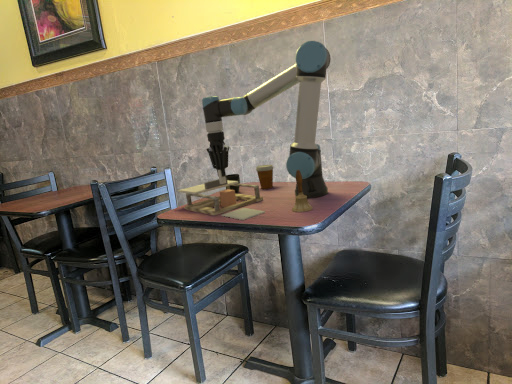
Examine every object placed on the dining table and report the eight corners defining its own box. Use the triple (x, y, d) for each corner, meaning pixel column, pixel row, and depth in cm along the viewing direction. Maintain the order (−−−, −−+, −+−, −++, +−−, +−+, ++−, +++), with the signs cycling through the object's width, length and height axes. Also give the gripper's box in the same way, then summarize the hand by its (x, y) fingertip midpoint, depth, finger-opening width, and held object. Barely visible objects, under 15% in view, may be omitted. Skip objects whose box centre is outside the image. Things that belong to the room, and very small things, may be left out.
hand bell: (311, 211, 143) (307, 171, 140) (290, 212, 145) (285, 172, 142) (314, 206, 151) (310, 167, 148) (293, 207, 153) (289, 169, 150)
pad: (265, 212, 150) (265, 211, 150) (242, 220, 143) (242, 219, 143) (243, 208, 161) (243, 207, 161) (221, 216, 153) (221, 214, 153)
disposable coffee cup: (254, 189, 200) (252, 167, 198) (264, 185, 208) (262, 164, 206) (269, 189, 195) (266, 167, 192) (278, 185, 202) (276, 164, 200)
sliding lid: (238, 183, 182) (237, 175, 181) (195, 194, 166) (193, 185, 166) (220, 181, 193) (219, 174, 193) (178, 192, 178) (177, 184, 177)
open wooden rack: (263, 199, 173) (261, 184, 172) (214, 215, 156) (211, 198, 154) (232, 195, 191) (230, 182, 190) (185, 209, 174) (182, 194, 172)
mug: (243, 189, 206) (241, 172, 204) (240, 193, 194) (237, 175, 193) (229, 190, 207) (226, 173, 205) (224, 195, 196) (222, 177, 194)
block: (236, 204, 170) (234, 190, 169) (228, 207, 167) (225, 192, 166) (230, 203, 174) (228, 189, 172) (221, 206, 171) (219, 191, 169)
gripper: (231, 129, 164) (238, 181, 169) (211, 132, 173) (219, 181, 177) (219, 131, 159) (227, 185, 163) (199, 134, 167) (207, 185, 172)
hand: (223, 183), depth 170 cm, fingers closed
